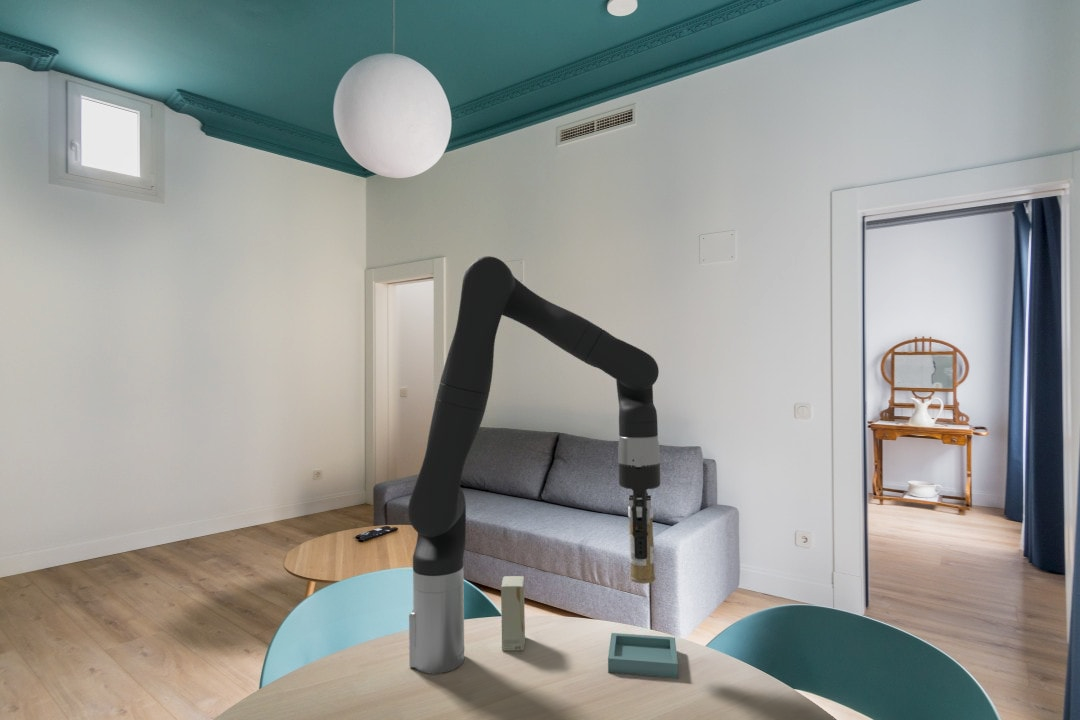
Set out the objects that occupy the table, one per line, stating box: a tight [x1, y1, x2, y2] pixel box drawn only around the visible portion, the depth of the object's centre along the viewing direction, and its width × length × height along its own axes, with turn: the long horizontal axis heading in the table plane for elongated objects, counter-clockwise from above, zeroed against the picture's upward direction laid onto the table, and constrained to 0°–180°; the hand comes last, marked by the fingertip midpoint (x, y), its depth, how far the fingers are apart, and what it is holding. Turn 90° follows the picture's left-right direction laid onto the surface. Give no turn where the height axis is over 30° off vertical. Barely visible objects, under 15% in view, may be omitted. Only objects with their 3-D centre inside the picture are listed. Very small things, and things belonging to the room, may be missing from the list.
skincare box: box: [500, 575, 526, 651], centre depth 113 cm, size 6×4×12 cm
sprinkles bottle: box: [627, 505, 656, 585], centre depth 105 cm, size 5×5×13 cm
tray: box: [607, 632, 679, 679], centre depth 105 cm, size 12×10×2 cm
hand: (641, 553), depth 105 cm, fingers closed on sprinkles bottle, 4 cm apart
